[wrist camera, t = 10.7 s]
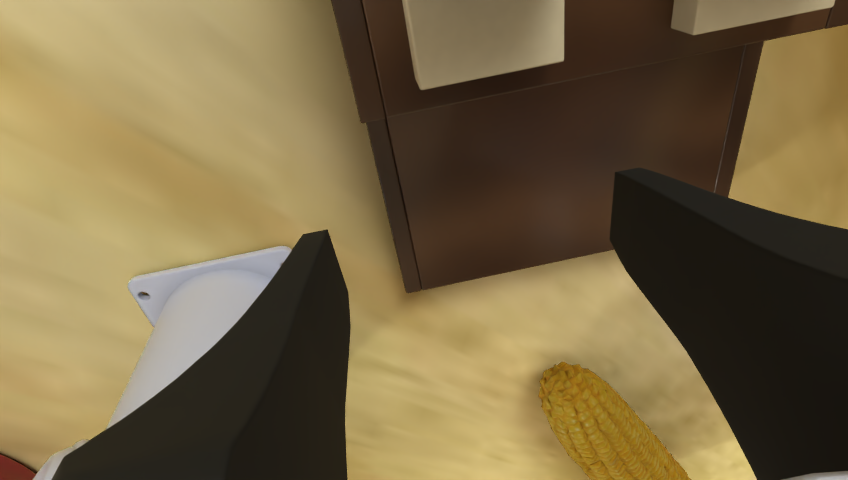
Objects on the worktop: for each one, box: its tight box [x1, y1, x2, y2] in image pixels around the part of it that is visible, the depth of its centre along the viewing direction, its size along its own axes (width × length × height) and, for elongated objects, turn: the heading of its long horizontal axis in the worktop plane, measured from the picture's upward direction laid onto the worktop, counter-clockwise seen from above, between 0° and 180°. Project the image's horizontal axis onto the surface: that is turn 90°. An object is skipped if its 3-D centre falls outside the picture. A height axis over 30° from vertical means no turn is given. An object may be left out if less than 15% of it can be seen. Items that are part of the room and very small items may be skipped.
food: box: [539, 362, 691, 480], centre depth 33 cm, size 21×6×6 cm, turn 37°
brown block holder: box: [331, 0, 848, 293], centre depth 18 cm, size 20×16×6 cm
